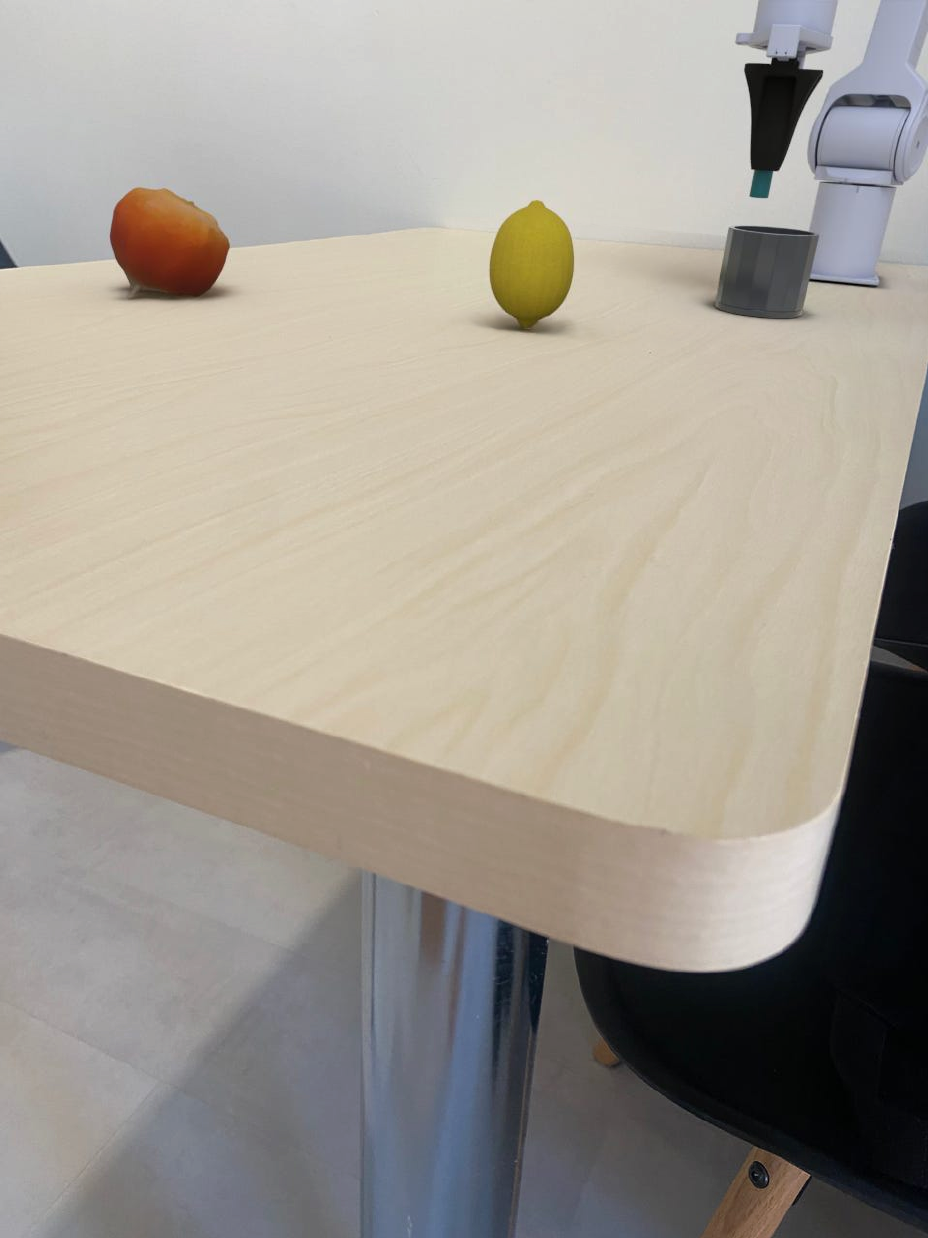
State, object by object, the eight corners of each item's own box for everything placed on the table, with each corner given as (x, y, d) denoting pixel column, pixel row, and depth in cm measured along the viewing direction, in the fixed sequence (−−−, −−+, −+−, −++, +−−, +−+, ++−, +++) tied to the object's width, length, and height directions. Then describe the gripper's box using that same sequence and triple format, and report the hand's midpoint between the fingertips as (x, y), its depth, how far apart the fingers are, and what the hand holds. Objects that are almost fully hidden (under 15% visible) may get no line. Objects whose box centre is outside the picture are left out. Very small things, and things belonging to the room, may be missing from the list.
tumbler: (719, 299, 77) (733, 223, 74) (802, 308, 75) (820, 230, 73) (710, 311, 72) (725, 229, 69) (799, 321, 70) (818, 237, 67)
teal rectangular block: (750, 196, 75) (769, 91, 71) (768, 197, 75) (789, 92, 71) (748, 196, 74) (768, 90, 70) (767, 198, 73) (788, 91, 70)
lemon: (562, 340, 59) (576, 205, 55) (479, 332, 60) (486, 199, 56) (571, 325, 64) (584, 200, 60) (493, 318, 64) (501, 194, 61)
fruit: (80, 263, 66) (128, 161, 65) (181, 318, 71) (228, 224, 69) (91, 282, 60) (144, 169, 58) (201, 341, 65) (253, 238, 63)
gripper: (756, -21, 74) (724, 165, 80) (740, -55, 62) (703, 167, 68) (847, -20, 72) (807, 171, 78) (849, -54, 60) (801, 174, 66)
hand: (765, 170), depth 73 cm, fingers closed on teal rectangular block, 1 cm apart
